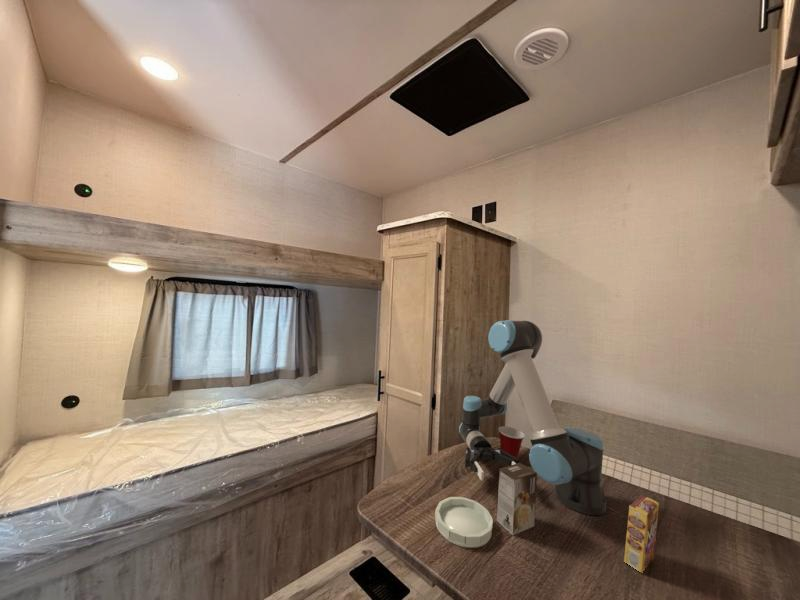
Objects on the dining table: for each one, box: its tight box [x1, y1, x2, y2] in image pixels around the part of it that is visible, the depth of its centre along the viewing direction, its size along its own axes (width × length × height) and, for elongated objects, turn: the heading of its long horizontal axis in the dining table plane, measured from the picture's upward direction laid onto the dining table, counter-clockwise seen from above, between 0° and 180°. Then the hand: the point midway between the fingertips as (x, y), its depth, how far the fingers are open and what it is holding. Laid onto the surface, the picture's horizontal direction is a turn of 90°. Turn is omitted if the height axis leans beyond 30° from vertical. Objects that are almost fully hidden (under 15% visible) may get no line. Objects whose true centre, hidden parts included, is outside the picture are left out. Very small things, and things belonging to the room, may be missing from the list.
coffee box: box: [496, 462, 538, 536], centre depth 90 cm, size 9×6×16 cm
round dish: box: [434, 496, 494, 549], centre depth 88 cm, size 16×16×3 cm
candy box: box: [623, 494, 660, 574], centre depth 79 cm, size 9×4×15 cm, turn 125°
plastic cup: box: [497, 425, 526, 458], centre depth 127 cm, size 11×11×12 cm
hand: (502, 476), depth 99 cm, fingers open, 13 cm apart
